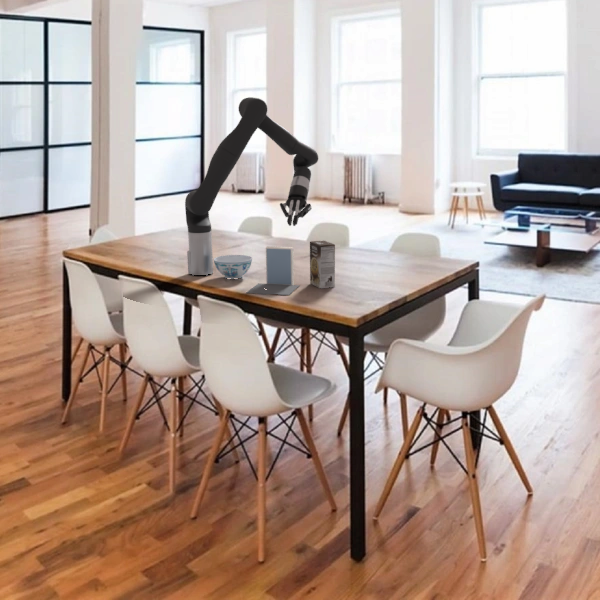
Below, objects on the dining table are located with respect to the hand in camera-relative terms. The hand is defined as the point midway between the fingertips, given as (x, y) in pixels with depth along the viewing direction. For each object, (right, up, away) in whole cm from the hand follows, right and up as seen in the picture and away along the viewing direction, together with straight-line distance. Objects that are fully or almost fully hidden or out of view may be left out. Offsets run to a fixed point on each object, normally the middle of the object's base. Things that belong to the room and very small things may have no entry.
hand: (291, 224), depth 284 cm
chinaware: (-23, -21, 0) cm, 31 cm away
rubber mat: (-7, -26, -21) cm, 34 cm away
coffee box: (+12, -24, -15) cm, 31 cm away
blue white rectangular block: (-4, -24, -12) cm, 27 cm away
